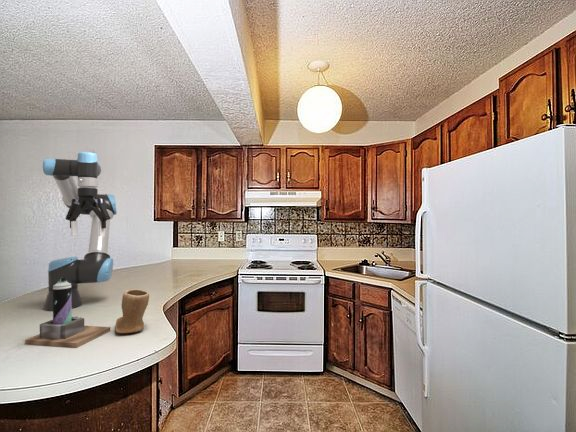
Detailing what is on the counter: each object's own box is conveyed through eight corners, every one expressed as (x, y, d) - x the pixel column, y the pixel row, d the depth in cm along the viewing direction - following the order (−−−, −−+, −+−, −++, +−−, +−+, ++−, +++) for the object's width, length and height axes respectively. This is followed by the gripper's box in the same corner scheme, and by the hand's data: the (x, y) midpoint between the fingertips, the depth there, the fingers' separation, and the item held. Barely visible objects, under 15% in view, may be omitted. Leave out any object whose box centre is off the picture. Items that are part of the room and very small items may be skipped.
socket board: (24, 344, 113) (24, 326, 113) (64, 328, 128) (64, 312, 128) (76, 347, 109) (76, 329, 109) (110, 331, 125) (110, 315, 125)
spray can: (51, 337, 114) (51, 279, 114) (54, 332, 119) (54, 277, 119) (70, 334, 117) (70, 278, 117) (72, 330, 122) (72, 275, 122)
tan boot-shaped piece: (149, 332, 123) (149, 292, 123) (113, 337, 118) (113, 295, 118) (148, 321, 137) (148, 284, 137) (116, 325, 132) (116, 287, 132)
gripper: (55, 187, 144) (55, 236, 144) (107, 186, 140) (107, 236, 140) (69, 189, 151) (69, 235, 152) (118, 188, 147) (119, 235, 147)
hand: (87, 236), depth 146 cm, fingers open, 13 cm apart
